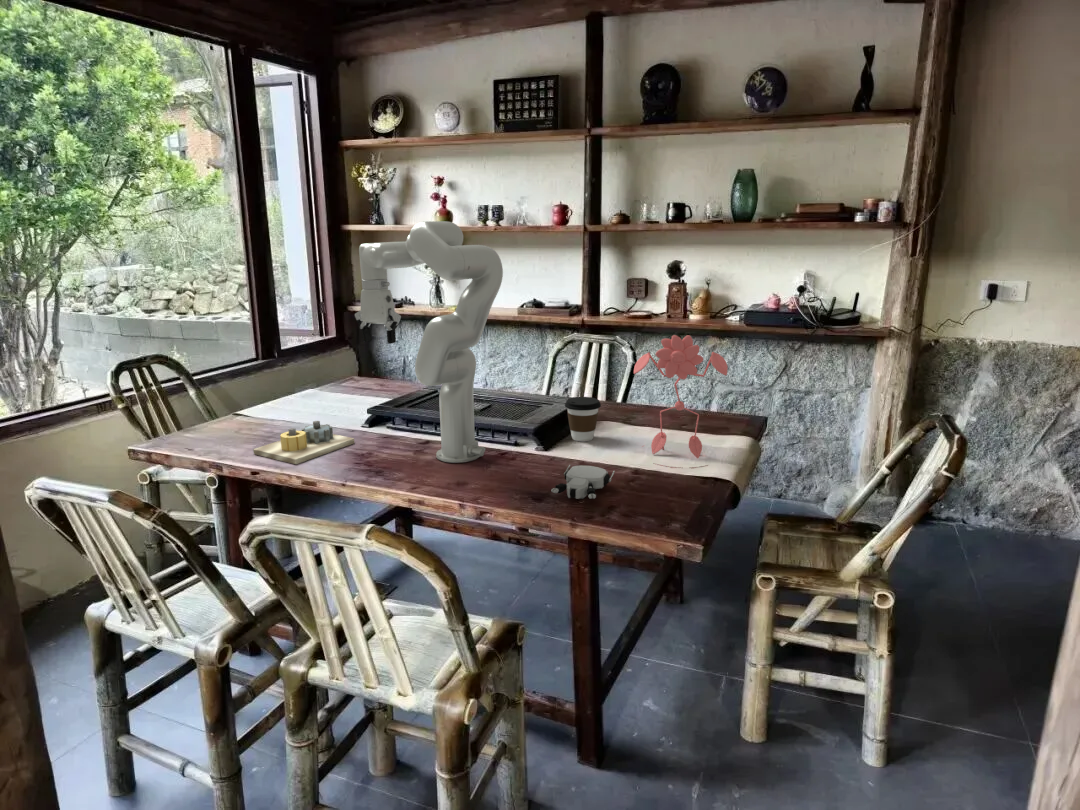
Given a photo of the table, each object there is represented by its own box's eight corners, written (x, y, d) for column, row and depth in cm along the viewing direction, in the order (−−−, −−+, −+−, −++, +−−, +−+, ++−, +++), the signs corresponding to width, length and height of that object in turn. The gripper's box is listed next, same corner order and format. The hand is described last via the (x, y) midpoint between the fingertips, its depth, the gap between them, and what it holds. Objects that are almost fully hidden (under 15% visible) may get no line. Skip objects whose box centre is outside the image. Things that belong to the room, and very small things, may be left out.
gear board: (354, 443, 211) (352, 420, 209) (296, 464, 193) (293, 440, 191) (313, 434, 220) (311, 413, 218) (253, 454, 202) (251, 431, 200)
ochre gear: (311, 445, 204) (310, 432, 203) (292, 452, 198) (291, 438, 197) (296, 442, 207) (294, 429, 206) (277, 448, 202) (275, 435, 201)
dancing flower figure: (635, 445, 206) (638, 328, 196) (724, 455, 197) (732, 333, 187) (621, 463, 192) (624, 338, 182) (717, 474, 183) (725, 343, 173)
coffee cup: (580, 446, 206) (580, 407, 203) (557, 437, 214) (557, 399, 211) (607, 439, 212) (608, 401, 209) (584, 431, 221) (585, 394, 218)
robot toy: (596, 509, 163) (615, 483, 176) (596, 492, 162) (615, 467, 175) (548, 502, 168) (570, 477, 181) (547, 485, 167) (570, 461, 180)
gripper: (405, 284, 207) (409, 341, 211) (361, 284, 215) (366, 338, 219) (389, 287, 201) (393, 345, 205) (344, 286, 209) (349, 342, 213)
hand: (379, 342), depth 212 cm, fingers open, 9 cm apart
